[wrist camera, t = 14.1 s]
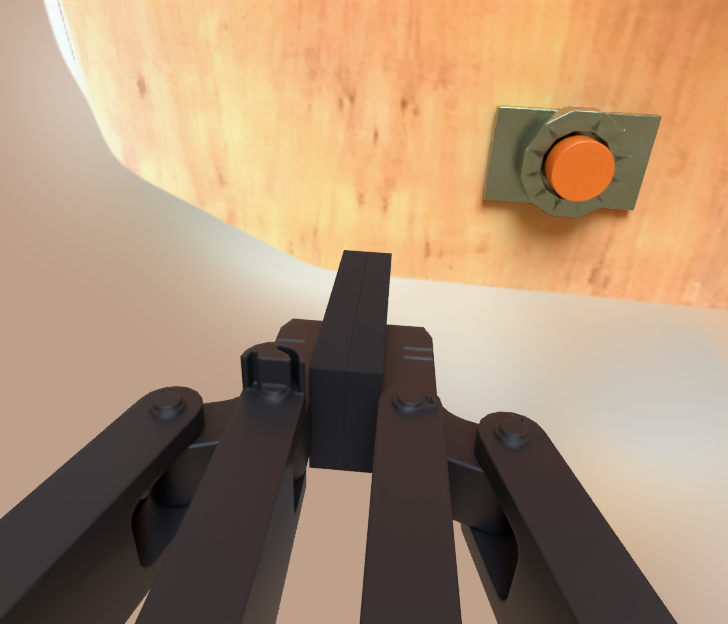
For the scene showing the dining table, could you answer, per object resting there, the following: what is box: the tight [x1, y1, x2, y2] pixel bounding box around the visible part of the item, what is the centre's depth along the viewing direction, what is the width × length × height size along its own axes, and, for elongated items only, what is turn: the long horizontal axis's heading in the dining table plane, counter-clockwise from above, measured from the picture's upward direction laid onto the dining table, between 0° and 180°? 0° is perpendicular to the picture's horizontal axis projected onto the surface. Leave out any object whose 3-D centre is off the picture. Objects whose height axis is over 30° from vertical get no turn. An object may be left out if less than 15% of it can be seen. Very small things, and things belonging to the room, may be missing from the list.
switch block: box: [483, 105, 661, 217], centre depth 33 cm, size 10×6×2 cm, turn 87°
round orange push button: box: [545, 135, 615, 202], centre depth 32 cm, size 4×4×2 cm
